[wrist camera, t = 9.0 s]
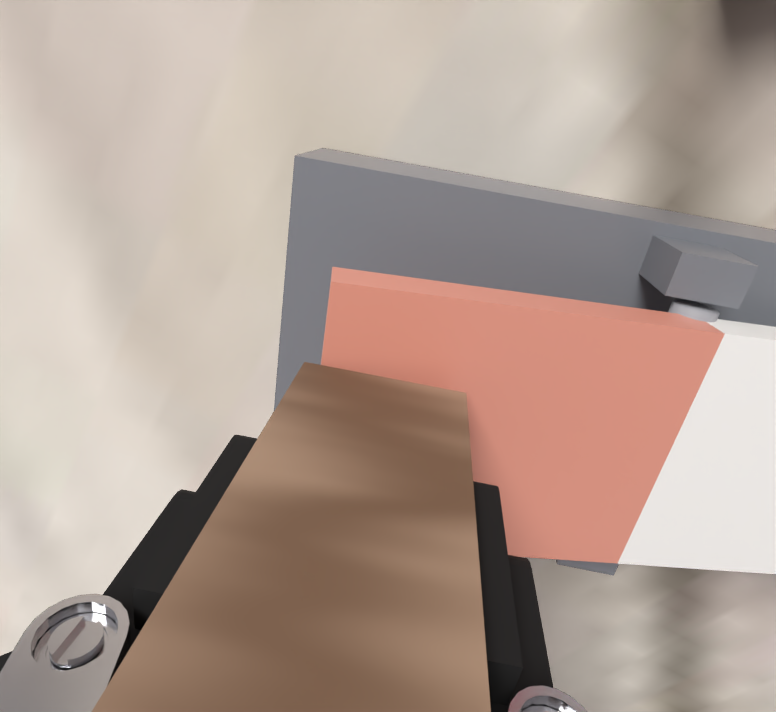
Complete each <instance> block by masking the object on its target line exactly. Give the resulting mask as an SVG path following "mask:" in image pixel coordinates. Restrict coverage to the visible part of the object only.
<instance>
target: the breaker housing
mask: <svg viewBox="0 0 776 712" xmlns="http://www.w3.org/2000/svg"><path fill="white" fill-rule="evenodd" d="M332 267H339V268H346V269H354V270H361V271H368V272H376V273H383V274H390V275H398V276H405V277H412V278H420V279H427V280H434V281H442V282H449V283H457V284H464V285H471V286H479V287H486V288H493V289H501V290H508V291H515V292H523V293H530V294H537V295H545V296H552V297H559V298H567V299H574V300H582V301H589V302H596V303H604V304H611V305H618V306H626V307H633V308H640V309H648V310H655V311H662V312H668V310H669V308H670V305H671V303H672V301H673V299H684V300H690V301H694V302H698V303H701V304H704V305H707V306H709V307H711V308H714V309H715V310H717V311H718V312H719V313H720V314H719V316H718V319H721V320H729V321H736V322H743V323H751V324H758V325H765V326H773V327H776V230H773V229H767V228H761V227H756V226H750V225H745V224H739V223H734V222H728V221H723V220H717V219H712V218H706V217H701V216H695V215H690V214H684V213H679V212H673V211H668V210H662V209H657V208H651V207H646V206H640V205H635V204H629V203H624V202H618V201H613V200H607V199H602V198H596V197H591V196H585V195H580V194H574V193H569V192H563V191H557V190H552V189H546V188H541V187H535V186H530V185H524V184H519V183H513V182H508V181H502V180H497V179H491V178H486V177H480V176H475V175H469V174H464V173H458V172H453V171H447V170H442V169H436V168H431V167H425V166H420V165H414V164H409V163H403V162H398V161H392V160H387V159H381V158H376V157H370V156H365V155H359V154H353V153H348V152H342V151H337V150H331V149H326V148H321V149H318V150H314V151H310V152H306V153H303V154H299V155H295V159H294V171H293V184H292V196H291V208H290V220H289V233H288V245H287V257H286V270H285V282H284V294H283V306H282V319H281V331H280V343H279V356H278V368H277V380H276V392H275V405H274V411H275V409H276V408H277V406H278V404H279V403H280V401H281V399H282V398H283V396H284V394H285V393H286V391H287V389H288V388H289V386H290V384H291V383H292V381H293V380H294V378H295V376H296V375H297V373H298V371H299V370H300V368H301V366H302V365H303V363H304V362H308V363H314V364H319V365H321V357H322V349H323V341H324V332H325V324H326V316H327V307H328V299H329V290H330V282H331V274H332ZM556 562H557V564H559V565H564V566H569V567H574V568H579V569H584V570H589V571H594V572H599V573H604V574H609V575H614V574H615V572H616V569H617V567H618V565H619V564H618V563H603V562H588V561H574V560H559V559H556ZM775 575H776V574H775Z"/></svg>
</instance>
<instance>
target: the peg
mask: <svg viewBox="0 0 776 712" xmlns="http://www.w3.org/2000/svg"><path fill="white" fill-rule="evenodd" d="M92 712H491V706H490V693H489V680H488V668H487V655H486V642H485V629H484V616H483V603H482V590H481V577H480V564H479V551H478V538H477V525H476V512H475V499H474V486H473V473H472V460H471V447H470V434H469V421H468V408H467V395H466V393H464V392H459V391H454V390H449V389H443V388H438V387H433V386H428V385H423V384H418V383H412V382H407V381H402V380H397V379H392V378H386V377H381V376H376V375H371V374H366V373H360V372H355V371H350V370H345V369H340V368H334V367H329V366H324V365H319V364H314V363H308V362H304V363H303V365H302V366H301V368H300V370H299V371H298V373H297V375H296V376H295V378H294V380H293V381H292V383H291V384H290V386H289V388H288V389H287V391H286V393H285V394H284V396H283V398H282V399H281V401H280V403H279V404H278V406H277V408H276V409H275V411H274V412H273V414H272V416H271V417H270V419H269V421H268V422H267V424H266V426H265V427H264V429H263V431H262V432H261V434H260V435H259V437H258V439H257V440H256V442H255V444H254V445H253V447H252V449H251V450H250V452H249V454H248V455H247V457H246V459H245V460H244V462H243V463H242V465H241V467H240V468H239V470H238V472H237V473H236V475H235V477H234V478H233V480H232V482H231V483H230V485H229V486H228V488H227V490H226V491H225V493H224V495H223V496H222V498H221V500H220V501H219V503H218V505H217V506H216V508H215V510H214V511H213V513H212V514H211V516H210V518H209V519H208V521H207V523H206V524H205V526H204V528H203V529H202V531H201V533H200V534H199V536H198V537H197V539H196V541H195V542H194V544H193V546H192V547H191V549H190V551H189V552H188V554H187V556H186V557H185V559H184V561H183V562H182V564H181V565H180V567H179V569H178V570H177V572H176V574H175V575H174V577H173V579H172V580H171V582H170V584H169V585H168V587H167V588H166V590H165V592H164V593H163V595H162V597H161V598H160V600H159V602H158V603H157V605H156V607H155V608H154V610H153V612H152V613H151V615H150V616H149V618H148V620H147V621H146V623H145V625H144V626H143V628H142V630H141V631H140V633H139V635H138V636H137V638H136V639H135V641H134V643H133V644H132V646H131V648H130V649H129V651H128V653H127V654H126V656H125V658H124V659H123V661H122V663H121V664H120V666H119V667H118V669H117V671H116V672H115V674H114V676H113V677H112V679H111V681H110V682H109V684H108V686H107V687H106V689H105V690H104V692H103V694H102V695H101V697H100V699H99V700H98V702H97V704H96V705H95V707H94V709H93V710H92Z"/></svg>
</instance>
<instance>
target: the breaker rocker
mask: <svg viewBox="0 0 776 712" xmlns="http://www.w3.org/2000/svg"><path fill="white" fill-rule="evenodd" d="M719 314H720V313H719V312H718V311H717V310H715V309H714V308H711V307H709V306H707V305H704V304H701V303H698V302H694V301H690V300H684V299H673V301H672V303H671V305H670V308H669V310H668V312H662V311H655V310H648V309H640V308H633V307H626V306H618V305H611V304H604V303H596V302H589V301H582V300H574V299H567V298H559V297H552V296H545V295H537V294H530V293H523V292H515V291H508V290H501V289H493V288H486V287H479V286H471V285H464V284H457V283H449V282H442V281H434V280H427V279H420V278H412V277H405V276H398V275H390V274H383V273H376V272H368V271H361V270H354V269H346V268H339V267H332V274H331V282H330V290H329V299H328V307H327V316H326V324H325V332H324V341H323V349H322V357H321V365H324V366H329V367H334V368H340V369H345V370H350V371H355V372H360V373H366V374H371V375H376V376H381V377H386V378H392V379H397V380H402V381H407V382H412V383H418V384H423V385H428V386H433V387H438V388H443V389H449V390H454V391H459V392H464V393H466V395H467V408H468V421H469V434H470V447H471V460H472V473H473V481H475V482H480V483H485V484H490V485H495V486H498V487H499V492H500V499H501V506H502V514H503V521H504V529H505V536H506V544H507V551H508V555H512V556H517V557H529V558H544V559H559V560H574V561H588V562H603V563H618V564H632V565H647V566H662V567H677V568H691V569H706V570H721V571H736V572H750V573H765V574H776V327H773V326H765V325H758V324H751V323H743V322H736V321H729V320H721V319H718V316H719Z"/></svg>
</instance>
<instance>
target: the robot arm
mask: <svg viewBox="0 0 776 712" xmlns="http://www.w3.org/2000/svg"><path fill="white" fill-rule="evenodd" d="M256 440H257V439H256V438H251V437H246V436H241V435H234V436H233V438H232V439H231V440H230V442H229V443H228V445H227V446H226V448H225V449H224V451H223V452H222V454H221V455H220V457H219V458H218V460H217V461H216V463H215V464H214V466H213V467H212V469H211V470H210V472H209V473H208V475H207V476H206V478H205V479H204V481H203V482H202V484H201V485H200V487H199V488H198V490H197V491H196V492H192V491H187V490H180V491H178V492H177V493H176V494H175V495H174V497H173V498H172V499H171V501H170V502H169V503H168V505H167V506H166V508H165V509H164V510H163V512H162V513H161V515H160V516H159V517H158V519H157V520H156V521H155V523H154V524H153V526H152V527H151V528H150V530H149V531H148V533H147V534H146V535H145V537H144V538H143V540H142V541H141V542H140V544H139V545H138V546H137V548H136V549H135V551H134V552H133V553H132V555H131V556H130V558H129V559H128V560H127V562H126V563H125V565H124V566H123V567H122V569H121V570H120V571H119V573H118V574H117V576H116V577H115V578H114V580H113V581H112V583H111V584H110V585H109V587H108V588H107V590H106V591H105V592H104V594H103V595H100V594H86V595H78V596H75V597H72V598H68V599H65V600H62V601H60V602H59V603H57V604H55V605H53V606H51V607H49V608H47V609H46V610H45V611H44V612H42V613H41V614H40V615H39V616H37V617H36V618H35V619H34V620H33V621H32V623H31V624H30V625H29V626H28V628H27V629H26V630H25V631H24V633H23V635H22V636H21V638H20V640H19V641H18V643H17V645H16V646H15V648H14V650H13V651H11V652H9V653H7V654H4V655H2V656H0V712H92V710H93V709H94V707H95V705H96V704H97V702H98V700H99V699H100V697H101V695H102V694H103V692H104V690H105V689H106V687H107V686H108V684H109V682H110V681H111V679H112V677H113V676H114V674H115V672H116V671H117V669H118V667H119V666H120V664H121V663H122V661H123V659H124V658H125V656H126V654H127V653H128V651H129V649H130V648H131V646H132V644H133V643H134V641H135V639H136V638H137V636H138V635H139V633H140V631H141V630H142V628H143V626H144V625H145V623H146V621H147V620H148V618H149V616H150V615H151V613H152V612H153V610H154V608H155V607H156V605H157V603H158V602H159V600H160V598H161V597H162V595H163V593H164V592H165V590H166V588H167V587H168V585H169V584H170V582H171V580H172V579H173V577H174V575H175V574H176V572H177V570H178V569H179V567H180V565H181V564H182V562H183V561H184V559H185V557H186V556H187V554H188V552H189V551H190V549H191V547H192V546H193V544H194V542H195V541H196V539H197V537H198V536H199V534H200V533H201V531H202V529H203V528H204V526H205V524H206V523H207V521H208V519H209V518H210V516H211V514H212V513H213V511H214V510H215V508H216V506H217V505H218V503H219V501H220V500H221V498H222V496H223V495H224V493H225V491H226V490H227V488H228V486H229V485H230V483H231V482H232V480H233V478H234V477H235V475H236V473H237V472H238V470H239V468H240V467H241V465H242V463H243V462H244V460H245V459H246V457H247V455H248V454H249V452H250V450H251V449H252V447H253V445H254V444H255V442H256ZM473 486H474V499H475V512H476V525H477V538H478V551H479V564H480V577H481V590H482V603H483V616H484V629H485V642H486V655H487V668H488V680H489V693H490V706H491V712H587V711H586V709H585V708H584V707H583V706H582V705H581V704H579V703H578V702H577V701H576V700H575V699H573V698H572V697H571V696H569V695H567V694H565V693H564V692H562V691H560V690H558V689H555V688H553V684H552V678H551V673H550V667H549V662H548V656H547V651H546V645H545V640H544V634H543V629H542V623H541V618H540V612H539V607H538V601H537V596H536V590H535V585H534V579H533V574H532V568H531V565H530V562H529V560H528V559H527V558H522V557H517V556H512V555H508V551H507V544H506V536H505V529H504V521H503V514H502V506H501V499H500V492H499V487H498V486H495V485H490V484H485V483H480V482H475V481H473Z"/></svg>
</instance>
